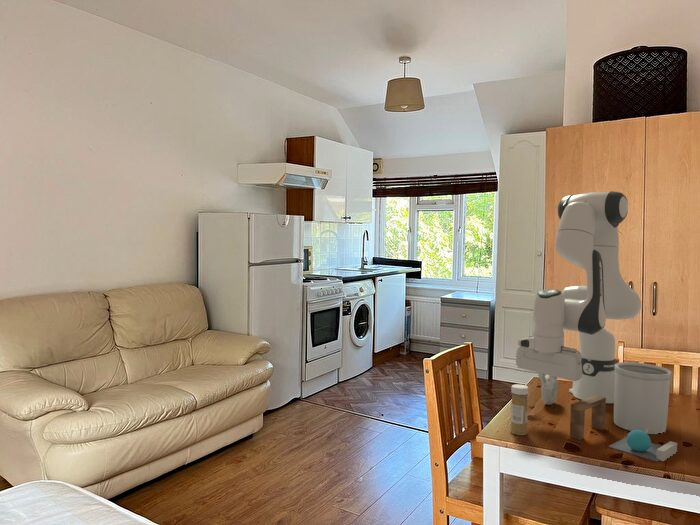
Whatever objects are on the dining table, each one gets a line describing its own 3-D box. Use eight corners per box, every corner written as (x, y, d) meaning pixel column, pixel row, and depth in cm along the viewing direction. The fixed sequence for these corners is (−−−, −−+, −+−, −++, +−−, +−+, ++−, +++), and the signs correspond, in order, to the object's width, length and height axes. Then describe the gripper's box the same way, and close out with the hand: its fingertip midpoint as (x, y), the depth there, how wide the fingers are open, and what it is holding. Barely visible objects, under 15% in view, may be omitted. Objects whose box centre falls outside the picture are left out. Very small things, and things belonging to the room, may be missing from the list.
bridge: (569, 436, 148) (570, 404, 147) (594, 425, 157) (595, 395, 156) (580, 440, 145) (581, 406, 145) (604, 428, 155) (605, 397, 154)
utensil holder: (674, 426, 158) (676, 367, 157) (662, 439, 147) (665, 376, 146) (620, 414, 168) (622, 359, 167) (606, 426, 157) (608, 367, 156)
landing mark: (627, 436, 148) (628, 436, 148) (675, 450, 139) (675, 449, 139) (608, 446, 141) (608, 446, 141) (657, 461, 131) (657, 461, 131)
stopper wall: (670, 450, 139) (670, 441, 139) (676, 452, 138) (677, 443, 137) (656, 459, 133) (656, 449, 133) (663, 461, 132) (663, 451, 132)
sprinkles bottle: (530, 434, 149) (531, 386, 149) (519, 437, 147) (521, 389, 146) (517, 429, 153) (518, 382, 153) (506, 432, 151) (508, 385, 150)
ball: (655, 450, 137) (633, 447, 142) (653, 429, 138) (631, 426, 142) (646, 455, 134) (624, 452, 138) (643, 433, 134) (621, 430, 139)
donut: (548, 399, 182) (549, 371, 182) (558, 401, 180) (559, 372, 180) (539, 406, 174) (540, 376, 174) (550, 408, 172) (550, 378, 172)
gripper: (587, 348, 154) (585, 394, 156) (524, 336, 170) (524, 378, 171) (576, 351, 150) (575, 399, 152) (513, 339, 166) (512, 382, 167)
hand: (547, 388), depth 162 cm, fingers closed
